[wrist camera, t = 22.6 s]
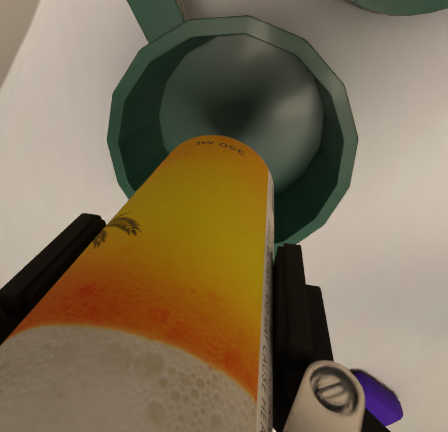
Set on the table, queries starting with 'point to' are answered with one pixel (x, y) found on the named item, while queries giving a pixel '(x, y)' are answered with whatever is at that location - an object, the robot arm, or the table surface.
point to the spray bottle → (379, 400)
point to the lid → (401, 6)
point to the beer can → (159, 310)
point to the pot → (236, 108)
